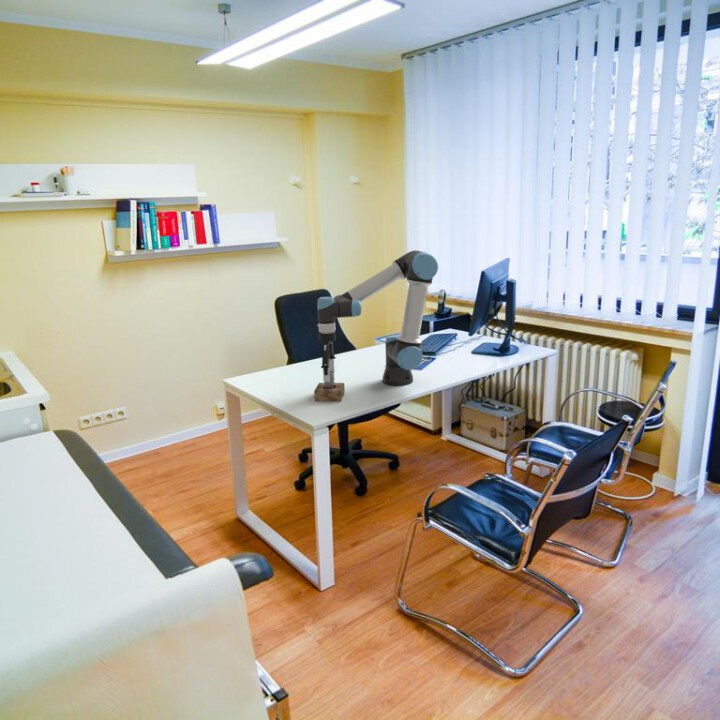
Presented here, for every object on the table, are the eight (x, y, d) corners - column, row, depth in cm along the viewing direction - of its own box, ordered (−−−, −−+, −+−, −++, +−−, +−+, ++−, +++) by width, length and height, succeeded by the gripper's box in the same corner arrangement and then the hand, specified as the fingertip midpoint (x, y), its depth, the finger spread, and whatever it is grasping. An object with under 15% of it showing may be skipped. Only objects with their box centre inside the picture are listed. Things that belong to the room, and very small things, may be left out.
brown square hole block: (344, 393, 275) (344, 382, 273) (341, 401, 263) (340, 390, 262) (319, 392, 276) (318, 382, 275) (314, 401, 265) (314, 390, 263)
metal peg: (335, 395, 271) (333, 370, 268) (333, 398, 268) (332, 373, 264) (326, 395, 272) (325, 370, 269) (325, 398, 268) (323, 373, 265)
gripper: (323, 326, 274) (325, 369, 280) (313, 338, 250) (316, 385, 256) (339, 325, 273) (341, 369, 279) (331, 337, 249) (333, 385, 255)
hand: (329, 377), depth 267 cm, fingers open, 13 cm apart
